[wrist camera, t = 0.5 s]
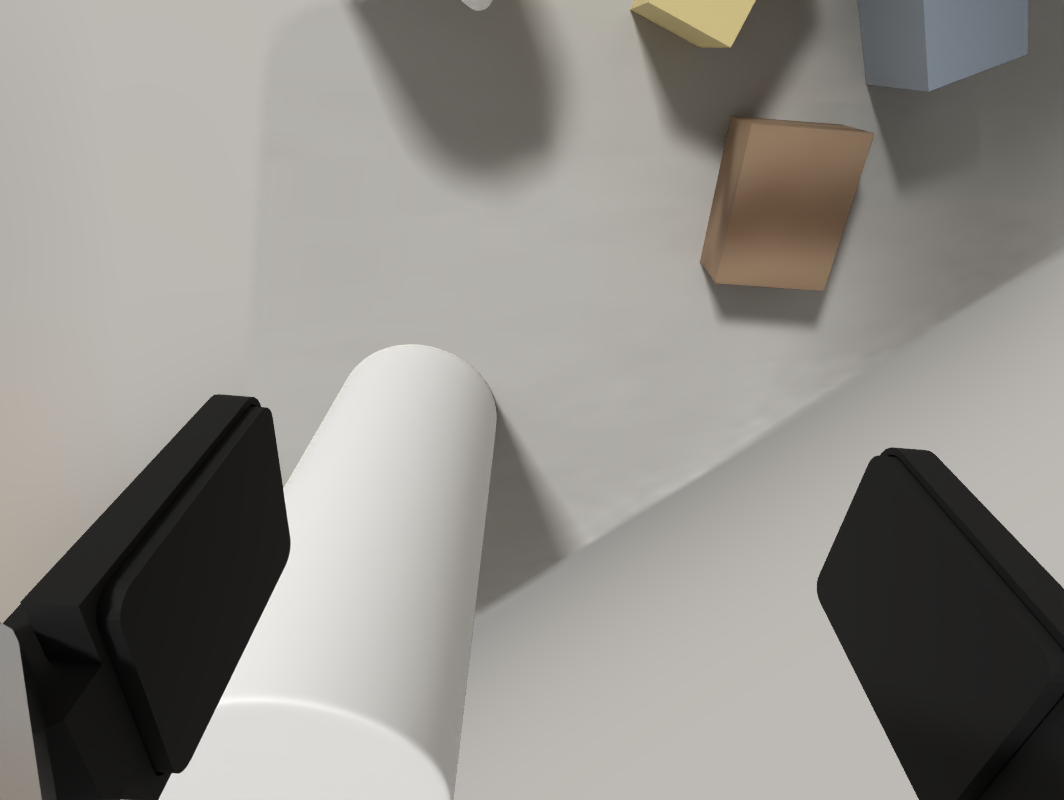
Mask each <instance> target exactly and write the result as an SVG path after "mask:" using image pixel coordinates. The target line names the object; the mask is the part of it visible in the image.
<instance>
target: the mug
mask: <svg viewBox="0 0 1064 800" xmlns="http://www.w3.org/2000/svg"><path fill="white" fill-rule="evenodd" d="M461 1H463V2H464V3H465V4H466V5H467V6H469V7H470V8H471V9H473V10H477V11H480V10H485V9H486V8H487V7H489V6H490V4H491V2H492V0H461Z"/></svg>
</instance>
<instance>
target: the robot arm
mask: <svg viewBox="0 0 1064 800" xmlns="http://www.w3.org/2000/svg"><path fill="white" fill-rule="evenodd" d="M290 546H291V540H290V532H289V526H288V519H287V512H286V505H285V498H284V492H283V485H282V478H281V471H280V464H279V458H278V451H277V444H276V437H275V431H274V424H273V417H272V413H271V411H270V409H268V408H264V407H261V405H260V403H259V401H258V399H256V398H255V397H245V396H232V395H214V396H212V397H211V398H210V399H209V400H208V401H207V402H206V403H205V404H204V405H203V406H202V407H201V408H200V410H199V411H198V412H197V413H196V414H195V415H194V416H193V417H192V418H191V419H190V420H189V421H188V422H187V424H186V425H185V426H184V427H183V428H182V429H181V430H180V431H179V432H178V433H177V434H176V435H175V436H174V438H173V439H172V440H171V441H170V442H169V443H168V444H167V445H166V446H165V447H164V448H163V449H162V450H161V451H160V453H159V454H158V455H157V456H156V457H155V458H154V459H153V460H152V461H151V462H150V463H149V464H148V465H147V467H146V468H145V469H144V470H143V471H142V472H141V473H140V474H139V475H138V476H137V477H136V478H135V479H134V481H133V482H132V483H131V484H130V485H129V486H128V487H127V488H126V489H125V490H124V491H123V492H122V493H121V494H120V496H119V497H118V498H117V499H116V500H115V501H114V502H113V503H112V504H111V505H110V506H109V507H108V509H107V510H106V511H105V512H104V513H103V514H102V515H101V516H100V517H99V518H98V519H97V520H96V521H95V522H94V524H93V525H92V526H91V527H90V528H89V529H88V530H87V531H86V532H85V533H84V534H83V535H82V537H81V538H80V539H79V540H78V541H77V542H76V543H75V544H74V545H73V546H72V547H71V548H70V550H68V551H67V553H66V554H65V555H64V556H63V557H62V558H61V559H60V560H59V561H58V562H57V563H56V564H55V565H54V567H53V568H52V569H51V570H50V571H49V572H48V573H47V574H46V575H45V576H44V577H43V578H42V580H41V581H40V582H39V583H38V584H37V585H36V586H35V587H34V588H33V589H32V590H31V591H30V592H29V594H28V595H27V596H26V597H25V598H24V599H23V600H22V601H21V604H20V605H19V606H18V608H17V609H16V610H15V611H14V612H13V613H12V614H11V615H10V616H9V617H8V618H7V619H6V621H5V622H4V623H3V624H2V623H1V622H0V800H120V799H128V800H158V799H159V798H160V796H161V794H162V792H163V790H164V788H165V786H166V784H167V782H168V780H169V778H170V776H171V774H172V773H176V774H179V773H181V772H182V771H184V769H185V768H186V767H187V766H188V764H189V762H190V760H191V759H192V757H193V755H194V753H195V751H196V748H197V746H198V744H199V742H200V740H201V738H202V736H203V734H204V732H205V730H206V728H207V726H208V724H209V722H210V720H211V718H212V716H213V714H214V712H215V709H216V707H217V705H218V703H219V701H220V699H221V697H222V695H223V693H224V691H225V689H226V687H227V685H228V683H229V681H230V679H231V677H232V675H233V673H234V670H235V668H236V666H237V664H238V662H239V660H240V658H241V656H242V654H243V652H244V650H245V648H246V646H247V644H248V642H249V640H250V638H251V636H252V634H253V631H254V629H255V627H256V625H257V623H258V621H259V619H260V617H261V615H262V613H263V611H264V609H265V607H266V605H267V603H268V601H269V599H270V597H271V595H272V592H273V590H274V588H275V586H276V584H277V582H278V580H279V578H280V576H281V574H282V572H283V570H284V568H285V566H286V564H287V561H288V558H289V554H290ZM817 594H818V598H819V600H820V603H821V605H822V607H823V609H824V611H825V613H826V615H827V617H828V619H829V621H830V623H831V625H832V627H833V629H834V631H835V633H836V635H837V637H838V639H839V641H840V643H841V645H842V647H843V649H844V651H845V653H846V655H847V657H848V659H849V661H850V663H851V665H852V667H853V669H854V671H855V673H856V675H857V677H858V679H859V681H860V683H861V685H862V687H863V689H864V691H865V693H866V695H867V697H868V699H869V701H870V703H871V705H872V707H873V709H874V711H875V713H876V715H877V717H878V718H879V720H880V723H881V724H882V727H883V728H884V731H885V733H886V735H887V737H888V739H889V741H890V743H891V745H892V747H893V749H894V751H895V753H896V755H897V757H898V759H899V760H900V763H901V765H902V767H903V768H904V771H905V773H906V775H907V777H908V779H909V781H910V783H911V785H912V786H913V789H914V791H915V792H916V795H917V797H918V798H919V800H1064V589H1063V588H1062V586H1061V585H1060V584H1059V583H1058V582H1057V581H1056V580H1055V579H1054V578H1053V577H1052V576H1051V575H1050V574H1049V573H1048V572H1047V571H1046V570H1045V569H1044V568H1043V567H1042V566H1041V565H1040V564H1039V563H1038V561H1037V560H1036V559H1035V558H1034V557H1033V556H1032V555H1031V554H1030V553H1029V552H1028V551H1027V550H1026V549H1025V548H1024V547H1023V546H1022V545H1021V544H1020V543H1019V542H1018V541H1017V540H1016V539H1015V538H1014V536H1013V535H1012V534H1011V533H1010V532H1009V531H1008V530H1007V529H1006V528H1005V527H1004V526H1003V525H1002V524H1001V523H1000V522H999V521H998V520H997V519H996V518H995V517H994V516H993V515H992V514H991V513H990V512H989V510H987V508H986V507H985V506H984V505H983V504H982V503H981V502H980V501H979V500H978V499H977V498H976V497H975V496H974V495H973V494H972V493H971V492H970V491H969V490H968V489H967V487H966V486H965V485H963V483H962V482H961V481H960V480H959V479H958V478H957V477H956V476H955V475H954V474H953V473H952V472H951V471H950V470H949V469H948V468H947V467H946V466H945V465H944V464H943V462H942V461H940V459H939V458H938V457H937V456H936V455H935V454H933V453H932V452H930V451H926V450H916V449H902V448H888V449H886V450H885V451H883V453H881V455H880V456H876V457H874V458H872V459H871V461H870V462H869V464H868V466H867V469H866V471H865V473H864V475H863V477H862V480H861V482H860V484H859V487H858V489H857V491H856V493H855V496H854V498H853V500H852V502H851V505H850V507H849V509H848V511H847V514H846V516H845V518H844V521H843V523H842V525H841V527H840V529H839V532H838V534H837V536H836V539H835V541H834V543H833V545H832V548H831V550H830V552H829V554H828V557H827V559H826V561H825V563H824V566H823V568H822V570H821V572H820V575H819V577H818V581H817Z"/></svg>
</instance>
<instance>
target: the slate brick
mask: <svg viewBox="0 0 1064 800" xmlns="http://www.w3.org/2000/svg"><path fill="white" fill-rule="evenodd" d="M858 9H859V19H860V29H861V38H862V48H863V58H864V68H865V77H866V85H875V86H884V87H892V88H901V89H910V90H918V91H927V92H929V91H932V90H934V89H937V88H940V87H942V86H945V85H948V84H950V83H953V82H956V81H958V80H961V79H964V78H966V77H969V76H971V75H974V74H977V73H979V72H982V71H985V70H987V69H990V68H993V67H995V66H998V65H1001V64H1003V63H1006V62H1008V61H1011V60H1014V59H1016V58H1019V57H1022V56H1024V55H1027V54H1028V0H858Z"/></svg>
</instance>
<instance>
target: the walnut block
mask: <svg viewBox="0 0 1064 800" xmlns="http://www.w3.org/2000/svg"><path fill="white" fill-rule="evenodd" d="M873 136H874V133H871V132H867V131H863V130H859V129H856V128H852V127H848V126H844V125H838V124H825V123H813V122H800V121H787V120H774V119H762V118H749V117H736V116H731V118H730V122H729V127H728V132H727V137H726V141H725V146H724V151H723V156H722V160H721V165H720V170H719V175H718V179H717V184H716V189H715V194H714V198H713V203H712V208H711V213H710V217H709V222H708V227H707V232H706V236H705V241H704V246H703V251H702V256H701V260H700V263H701V264H702V266H703V267H704V268H705V270H706V271H707V272H708V274H709V275H710V276H711V278H712V279H713V281H714V282H715V283H719V284H733V285H747V286H761V287H775V288H788V289H802V290H816V291H824V289H825V286H826V283H827V280H828V277H829V273H830V270H831V267H832V264H833V261H834V258H835V255H836V252H837V249H838V245H839V242H840V239H841V236H842V233H843V230H844V227H845V224H846V220H847V217H848V214H849V211H850V208H851V205H852V202H853V199H854V196H855V192H856V189H857V186H858V183H859V180H860V177H861V174H862V171H863V168H864V164H865V161H866V158H867V155H868V152H869V149H870V146H871V143H872V139H873Z"/></svg>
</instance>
